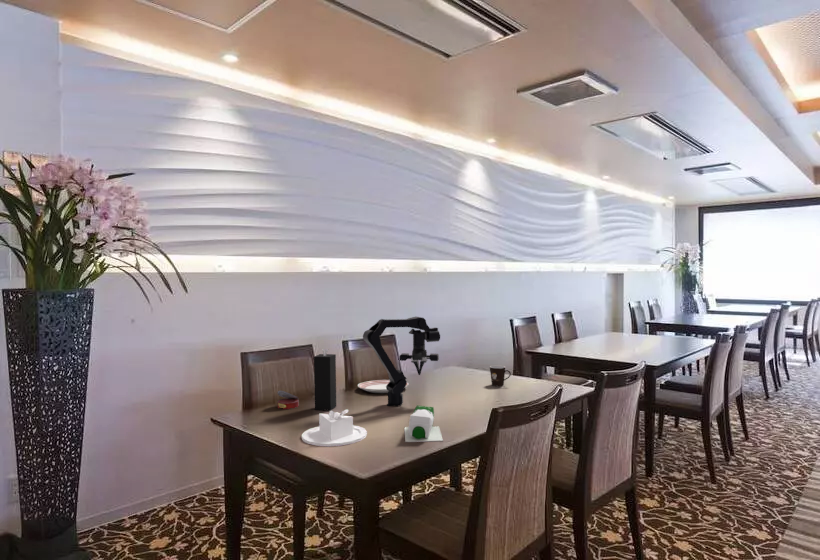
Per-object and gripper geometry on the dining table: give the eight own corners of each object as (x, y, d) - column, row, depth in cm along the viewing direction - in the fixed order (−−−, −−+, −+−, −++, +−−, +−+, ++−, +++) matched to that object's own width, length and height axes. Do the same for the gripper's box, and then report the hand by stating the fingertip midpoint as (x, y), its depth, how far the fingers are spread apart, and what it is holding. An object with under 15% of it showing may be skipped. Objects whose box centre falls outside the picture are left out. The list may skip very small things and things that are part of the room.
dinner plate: (352, 387, 295) (352, 381, 295) (398, 382, 305) (398, 377, 305) (365, 397, 269) (365, 391, 269) (416, 392, 279) (416, 386, 279)
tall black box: (330, 410, 243) (329, 349, 243) (314, 410, 245) (313, 349, 245) (336, 406, 251) (335, 347, 251) (320, 406, 253) (319, 347, 252)
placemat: (404, 427, 215) (404, 427, 215) (438, 427, 216) (438, 426, 216) (405, 442, 197) (405, 441, 197) (443, 441, 198) (442, 440, 198)
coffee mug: (486, 384, 296) (486, 366, 296) (499, 382, 300) (499, 365, 300) (498, 388, 286) (498, 369, 286) (512, 386, 289) (511, 368, 289)
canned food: (277, 416, 253) (273, 396, 257) (298, 411, 258) (293, 391, 261) (281, 410, 244) (276, 389, 248) (302, 405, 249) (297, 384, 252)
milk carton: (413, 424, 219) (406, 438, 199) (414, 402, 219) (408, 414, 199) (434, 427, 217) (429, 441, 198) (436, 404, 217) (431, 417, 198)
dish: (379, 435, 207) (379, 406, 207) (330, 451, 189) (329, 420, 189) (338, 423, 224) (338, 397, 224) (288, 438, 205) (288, 408, 205)
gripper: (397, 344, 252) (397, 377, 252) (436, 345, 249) (437, 378, 249) (401, 341, 263) (401, 373, 263) (438, 342, 260) (439, 373, 260)
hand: (419, 374), depth 259 cm, fingers closed
